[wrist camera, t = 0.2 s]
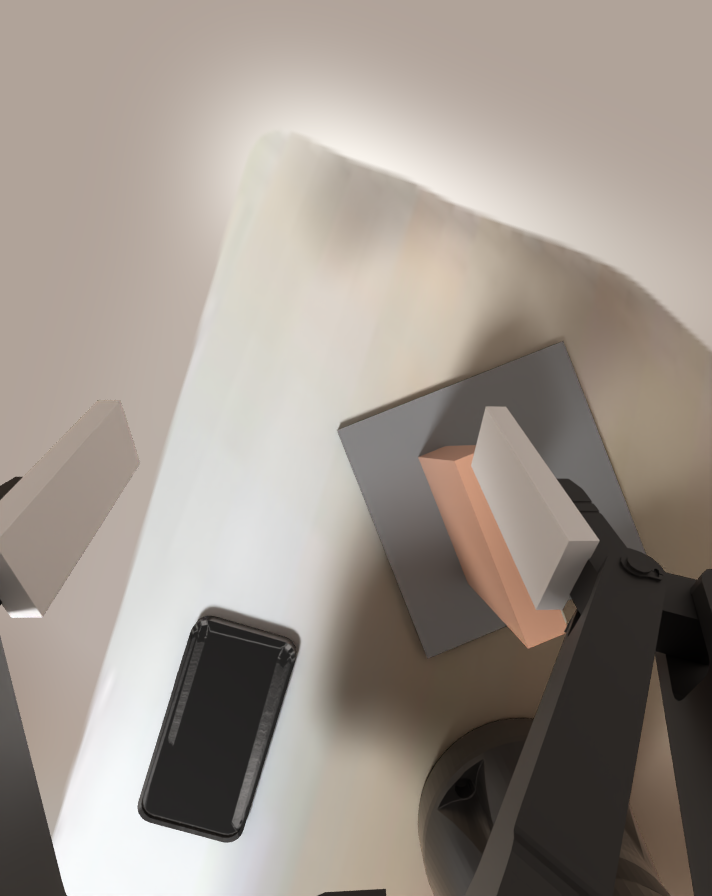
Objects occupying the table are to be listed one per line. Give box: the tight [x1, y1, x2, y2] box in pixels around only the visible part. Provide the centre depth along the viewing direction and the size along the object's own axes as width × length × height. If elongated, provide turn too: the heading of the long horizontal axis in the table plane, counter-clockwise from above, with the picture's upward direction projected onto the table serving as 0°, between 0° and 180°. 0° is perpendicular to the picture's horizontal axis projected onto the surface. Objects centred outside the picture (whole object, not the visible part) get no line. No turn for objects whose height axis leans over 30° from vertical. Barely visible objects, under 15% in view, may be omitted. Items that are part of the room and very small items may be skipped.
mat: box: [337, 341, 646, 659], centre depth 31 cm, size 18×18×1 cm
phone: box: [138, 616, 296, 843], centre depth 30 cm, size 8×1×15 cm
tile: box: [418, 445, 567, 649], centre depth 26 cm, size 10×2×10 cm, turn 22°
